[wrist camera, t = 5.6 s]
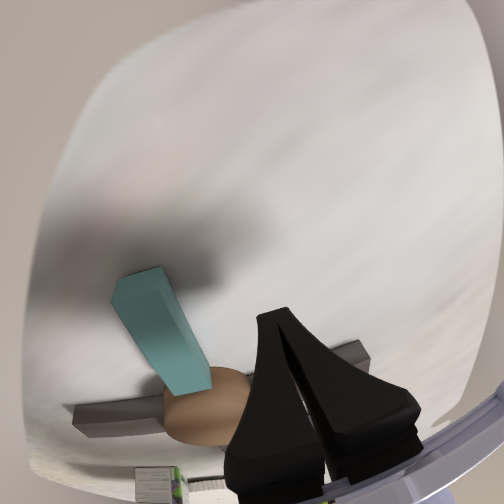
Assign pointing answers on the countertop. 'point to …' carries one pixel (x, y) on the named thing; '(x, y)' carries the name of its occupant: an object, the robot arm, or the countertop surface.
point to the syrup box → (161, 486)
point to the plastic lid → (211, 493)
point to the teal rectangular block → (162, 330)
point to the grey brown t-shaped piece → (188, 408)
